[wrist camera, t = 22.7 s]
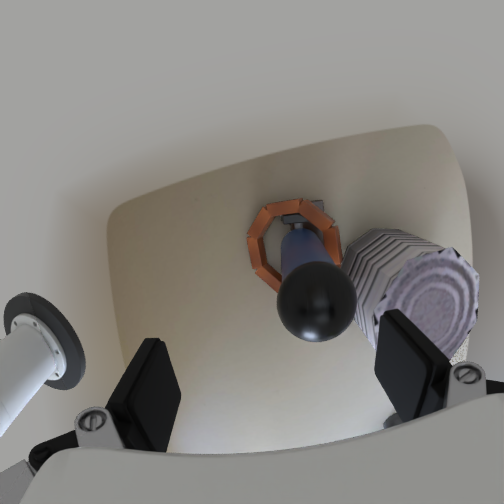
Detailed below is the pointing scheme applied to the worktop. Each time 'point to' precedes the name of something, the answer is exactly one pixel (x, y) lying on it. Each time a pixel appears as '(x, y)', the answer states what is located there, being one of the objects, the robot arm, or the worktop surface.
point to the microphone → (313, 289)
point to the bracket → (304, 220)
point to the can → (413, 286)
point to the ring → (283, 208)
